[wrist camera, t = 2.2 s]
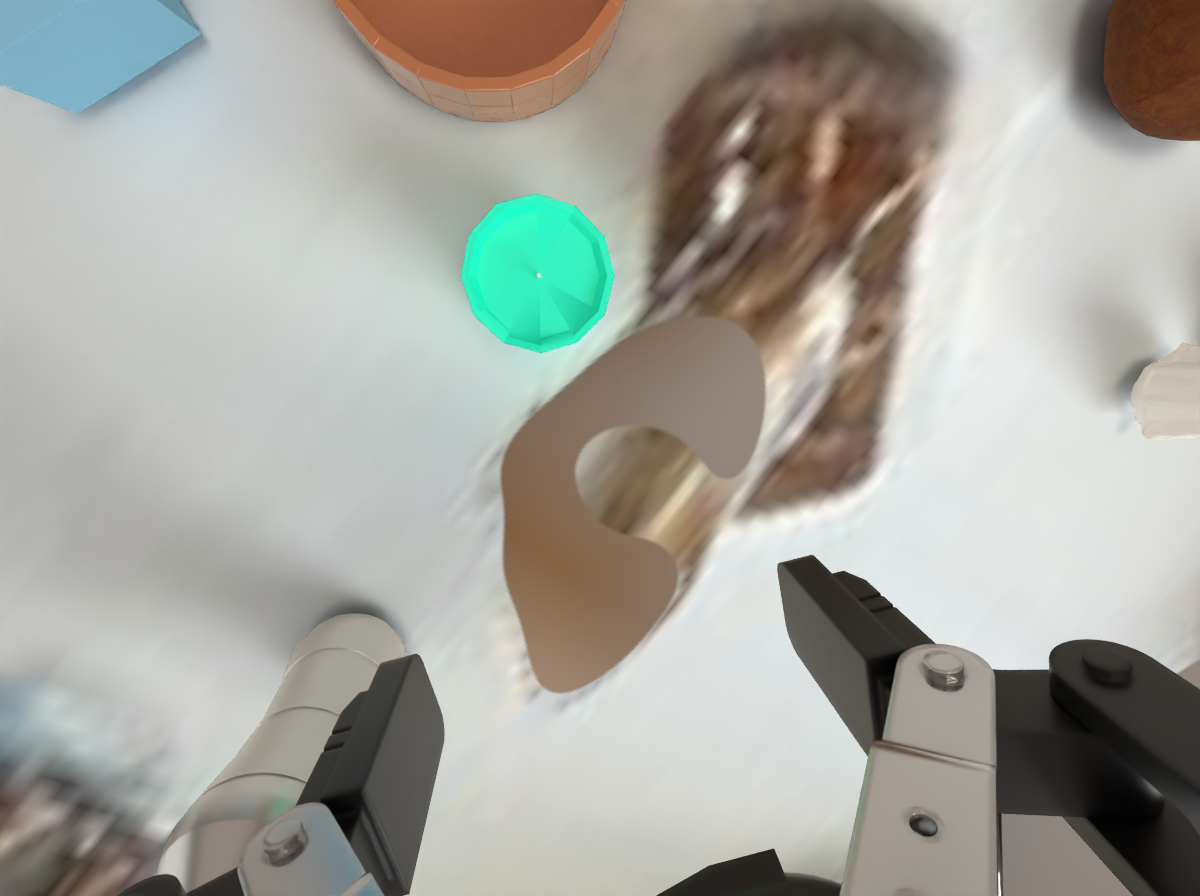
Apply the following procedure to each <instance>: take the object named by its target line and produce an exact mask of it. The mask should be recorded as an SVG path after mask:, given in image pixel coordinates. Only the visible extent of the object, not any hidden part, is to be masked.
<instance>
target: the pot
mask: <svg viewBox="0 0 1200 896" xmlns="http://www.w3.org/2000/svg"><path fill="white" fill-rule="evenodd" d="M333 1H334V3H335V4H336V6H337V7H338V9H339V10H340V12H341V13H342V14H343V16H344V17H345V19H346V20H347V21H348V23H349V24H350V26H351V27H352V28H353V30H354V31H355V33H356V34H357V36H358V37H359V38H360V40H361V41H362V43H363V44H364V45H365V47H366V48H367V49H368V50H369V51H370V52H371V54H372V55H373V56H374V57H375V58H376V59H377V61H378V62H379V63H380V64H381V65H382V66H383V67H384V69H385V70H386V71H387V72H388V73H389V74H390V75H391V76H392V77H393V78H394V79H395V80H396V81H397V82H398V83H399V84H401V85H402V86H403V87H404V88H405V89H407V90H408V91H409V92H411V93H412V94H414V95H415V96H416V97H418V98H419V99H421V100H422V101H424V102H426V103H428V104H430V105H432V106H433V107H435V108H437V109H439V110H442V111H444V112H447V113H450V114H452V115H455V116H458V117H463V118H467V119H471V120H478V121H489V122H498V121H512V120H517V119H522V118H527V117H530V116H532V115H535V114H538V113H541V112H544V111H546V110H547V109H549V108H551V107H553V106H555V105H557V104H559V103H560V102H562V101H563V100H564V99H566V98H567V97H568V96H570V95H571V94H572V93H574V92H575V91H576V90H577V89H578V88H579V87H580V86H581V85H582V84H583V83H584V82H585V81H586V80H587V79H588V78H589V76H590V75H591V74H592V73H593V71H594V70H595V69H596V67H597V66H598V65H599V63H600V62H601V60H602V58H603V56H604V55H605V53H606V51H607V50H608V48H609V47H610V44H611V42H612V39H613V36H614V34H615V32H616V29H617V26H618V23H619V20H620V18H621V15H622V12H623V10H624V7H625V4H626V0H333Z"/></svg>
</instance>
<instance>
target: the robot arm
mask: <svg viewBox="0 0 1200 896" xmlns="http://www.w3.org/2000/svg"><path fill="white" fill-rule="evenodd" d="M778 578H779V584H780V591H781V597H782V603H783V609H784V616H785V622H786V627H787V631H788V634H789V638H790V640H791V643H792V645H793V647H794V649H795V651H796V653H797V655H798V656H799V658H800V659H801V660H802V662H803V663H804V665H805V666H806V668H807V669H808V671H809V672H810V673H811V675H812V676H813V678H814V679H815V681H816V682H817V684H818V685H819V687H820V688H821V689H822V691H823V692H824V694H825V695H826V697H827V698H828V700H829V701H830V703H831V704H832V705H833V707H834V708H835V710H836V711H837V713H838V714H839V716H840V717H841V718H842V720H843V721H844V723H845V724H846V726H847V727H848V729H849V730H850V732H851V733H852V734H853V736H854V737H855V739H856V740H857V742H858V743H859V745H860V746H861V747H862V749H863V750H864V752H865V753H866V755H867V756H868V761H867V765H866V770H865V775H864V780H863V785H862V789H861V794H860V799H859V804H858V809H857V813H856V818H855V823H854V828H853V833H852V837H851V842H850V847H849V852H848V857H847V861H846V866H845V871H844V876H843V881H842V884H840V883H838V882H835V881H832V880H829V879H825V878H822V877H818V876H814V875H808V874H800V873H784V872H783V869H782V867H781V864H780V862H779V859H778V857H777V855H776V852H775V850H774V849H770V850H767V851H763V852H759V853H755V854H752V855H748V856H744V857H740V858H736V859H733V860H729V861H725V862H721V863H717V864H714V865H710V866H708V867H706V868H704V869H702V870H701V871H699V872H697V873H695V874H694V875H692V876H690V877H688V878H687V879H685V880H683V881H681V882H680V883H678V884H676V885H674V886H673V887H671V888H669V889H667V890H666V891H664V892H662V893H660V894H658V895H657V896H1003V862H1002V861H1003V860H1002V859H1003V858H1002V815H1001V813H1004V814H1024V815H1046V816H1062V817H1063V818H1064V819H1065V820H1066V821H1067V822H1068V824H1069V825H1070V826H1071V827H1072V828H1073V829H1074V830H1075V831H1076V832H1077V834H1078V835H1079V836H1080V837H1081V838H1082V839H1083V840H1084V841H1085V842H1086V844H1087V845H1088V846H1089V847H1090V848H1091V849H1092V850H1093V851H1094V852H1095V854H1096V855H1097V856H1098V857H1099V858H1100V859H1101V860H1102V861H1103V863H1104V864H1105V865H1106V866H1107V867H1108V868H1109V869H1110V870H1111V871H1112V873H1113V874H1114V875H1115V876H1116V877H1117V878H1118V879H1119V880H1120V881H1121V882H1122V884H1123V885H1124V886H1125V887H1126V888H1127V889H1128V890H1129V892H1130V893H1131V894H1132V895H1133V896H1200V689H1198V688H1197V687H1195V686H1194V685H1192V684H1191V683H1189V682H1188V681H1186V680H1185V679H1183V678H1182V677H1180V676H1179V675H1177V674H1176V673H1174V672H1173V671H1171V670H1170V669H1168V668H1167V667H1165V666H1164V665H1162V664H1161V663H1159V662H1158V661H1156V660H1154V659H1153V658H1151V657H1150V656H1148V655H1146V654H1144V653H1142V652H1140V651H1138V650H1136V649H1133V648H1130V647H1128V646H1124V645H1121V644H1117V643H1113V642H1108V641H1101V640H1089V639H1085V640H1073V641H1068V642H1065V643H1062V644H1060V645H1058V646H1056V647H1055V648H1054V649H1053V650H1052V651H1051V653H1050V656H1049V670H995V669H992V668H991V667H990V665H989V664H988V663H987V662H986V661H985V660H984V659H982V658H981V657H979V656H978V655H976V654H974V653H972V652H970V651H968V650H965V649H963V648H959V647H956V646H951V645H945V644H936V643H934V642H933V641H932V640H931V639H930V638H929V637H928V636H927V635H926V634H924V633H923V632H922V631H921V630H920V629H919V628H918V627H917V626H916V625H915V624H913V623H912V622H911V621H910V620H909V619H908V618H907V617H906V616H905V615H904V614H902V613H901V612H900V611H899V610H898V609H897V608H896V607H895V608H894V607H893V605H892V604H891V603H890V602H889V601H888V600H887V599H886V598H885V597H884V596H881V595H880V593H879V592H878V591H877V590H876V589H875V588H874V587H873V586H872V585H870V584H869V583H868V582H867V581H866V580H864V579H862V578H859V577H857V576H855V575H852V574H850V573H847V572H845V571H841V572H837V573H833V574H832V573H831V572H830V571H829V570H828V569H827V568H826V567H825V566H824V565H823V564H822V563H821V562H820V561H819V560H818V559H817V558H816V557H815V556H813V555H809V556H805V557H801V558H797V559H793V560H789V561H785V562H781V563H779V564H778ZM443 744H444V723H443V717H442V713H441V710H440V707H439V704H438V702H437V699H436V696H435V693H434V691H433V688H432V685H431V682H430V680H429V677H428V674H427V671H426V669H425V666H424V663H423V661H422V659H421V657H420V656H419V655H418V654H413V655H409V656H405V657H401V658H397V659H393V660H389V661H385V662H382V663H381V664H380V665H379V667H378V669H377V671H376V673H375V676H374V678H373V680H372V682H371V685H370V687H369V689H368V690H367V691H363V692H359V693H358V694H357V696H356V697H355V698H354V699H353V700H352V701H351V702H350V703H349V704H348V705H347V706H346V707H345V709H344V710H343V711H342V712H341V714H340V716H339V718H338V720H337V722H336V724H335V726H334V728H333V730H332V735H331V736H329V738H328V740H327V742H326V744H325V746H324V752H322V753H321V755H320V757H319V759H318V761H317V763H316V765H315V767H314V769H313V771H312V773H311V775H310V777H309V779H308V781H307V783H306V785H305V787H304V789H303V791H302V793H301V795H300V797H299V799H298V802H297V804H296V806H295V807H293V808H291V809H289V810H287V811H285V812H283V813H282V814H280V815H278V816H277V817H275V818H274V819H273V820H271V821H270V822H269V823H267V824H266V825H265V826H264V827H263V828H262V829H261V830H260V831H259V832H258V833H257V834H256V835H255V836H254V837H253V838H252V839H251V841H250V842H249V843H248V845H247V846H246V848H245V849H244V851H243V853H242V855H241V857H240V860H239V863H238V867H236V868H234V869H233V870H231V871H229V872H227V873H225V874H223V875H221V876H219V877H217V878H215V879H213V880H211V881H209V882H207V883H205V884H203V885H201V886H199V887H198V888H196V889H194V890H192V891H190V892H188V893H186V892H185V890H184V888H183V886H182V885H181V883H180V881H179V880H178V878H177V877H175V876H174V875H170V874H161V875H156V876H153V877H150V878H147V879H145V880H142V881H140V882H138V883H136V884H134V885H133V886H131V887H129V888H128V889H126V890H125V891H123V892H122V893H120V894H119V895H117V896H403V895H407V894H409V892H410V888H411V884H412V879H413V875H414V871H415V866H416V862H417V857H418V853H419V849H420V844H421V840H422V836H423V831H424V827H425V823H426V818H427V814H428V809H429V805H430V801H431V796H432V792H433V788H434V783H435V779H436V775H437V770H438V766H439V761H440V757H441V753H442V748H443Z"/></svg>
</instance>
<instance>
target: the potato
mask: <svg viewBox="0 0 1200 896" xmlns="http://www.w3.org/2000/svg"><path fill="white" fill-rule="evenodd" d="M1103 80H1104V82H1105V85H1106V88H1107V91H1108V93H1109V96H1110V98H1111V101H1112V103H1113V104H1114V106H1115V107H1116V109H1117V110H1118V111H1119V113H1120V114H1121V116H1122V117H1123V118H1124V119H1125V120H1126V121H1127V122H1128V123H1129V124H1130V125H1131V127H1132V128H1134V129H1136V130H1138V131H1140V132H1142V133H1143V134H1145V135H1147V136H1152V137H1156V138H1161V139H1169V140H1179V141H1200V0H1114V1H1113V3H1112V6H1111V9H1110V11H1109V14H1108V20H1107V27H1106V34H1105V48H1104V70H1103Z"/></svg>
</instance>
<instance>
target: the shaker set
mask: <svg viewBox="0 0 1200 896" xmlns="http://www.w3.org/2000/svg"><path fill="white" fill-rule="evenodd" d="M1130 400H1131V405H1132V409H1133V411H1134V414H1135V417H1136V419H1137V421H1138V422H1139V424H1140V426H1141V431H1142V434H1143V435H1144V436H1145V437H1146V438H1147V439H1150V440H1155V439H1185V438H1200V346H1195V345H1190V344H1187V343H1182V344H1181V345H1180V346H1179V347H1178V348H1177V349H1176V350H1175V351H1174V352H1172V353H1171V354H1170V355H1168V356H1167V357H1165V358H1163V359H1162V360H1160V361H1155V362H1153V363H1152V364H1150V365H1148V366H1147V367H1145V368H1144V369H1143V371H1142V374H1141V375H1140V377H1139V378H1138V380H1137V381H1136V382H1135V384H1134V385H1133V388H1132V390H1131V398H1130Z"/></svg>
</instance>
